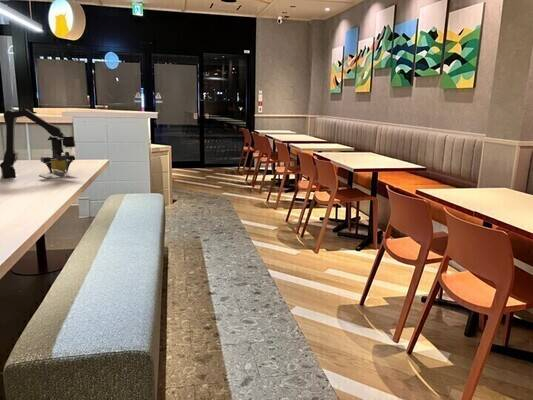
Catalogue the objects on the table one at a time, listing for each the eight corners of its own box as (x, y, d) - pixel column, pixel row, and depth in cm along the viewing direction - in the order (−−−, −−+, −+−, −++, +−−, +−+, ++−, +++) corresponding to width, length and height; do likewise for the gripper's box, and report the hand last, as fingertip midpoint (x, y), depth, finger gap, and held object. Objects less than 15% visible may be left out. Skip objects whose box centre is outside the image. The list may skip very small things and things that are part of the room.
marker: (60, 176, 266) (60, 172, 265) (53, 173, 275) (52, 169, 274) (64, 175, 268) (64, 171, 267) (57, 173, 276) (56, 169, 276)
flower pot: (56, 172, 280) (54, 159, 278) (49, 171, 286) (48, 157, 283) (69, 171, 287) (68, 157, 285) (62, 169, 292) (61, 156, 290)
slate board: (47, 179, 259) (47, 178, 259) (39, 175, 269) (39, 174, 269) (70, 176, 268) (69, 175, 268) (60, 173, 278) (60, 172, 278)
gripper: (45, 149, 255) (48, 175, 258) (77, 147, 267) (79, 172, 271) (39, 147, 262) (41, 173, 266) (70, 146, 275) (72, 170, 279)
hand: (59, 172), depth 270 cm, fingers open, 9 cm apart
